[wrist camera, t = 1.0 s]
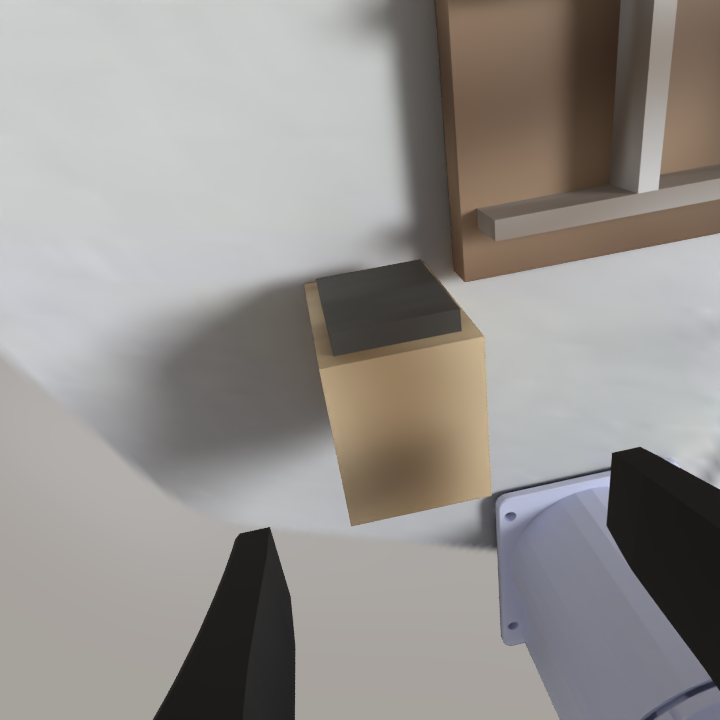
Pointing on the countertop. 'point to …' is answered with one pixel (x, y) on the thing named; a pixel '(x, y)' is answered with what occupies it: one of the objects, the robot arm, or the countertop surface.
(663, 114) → the rail board
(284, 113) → the countertop surface
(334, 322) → the block
